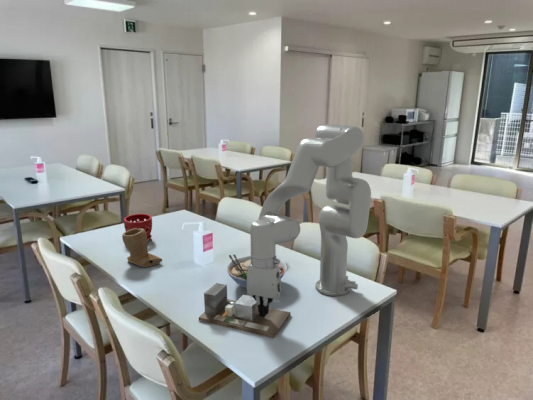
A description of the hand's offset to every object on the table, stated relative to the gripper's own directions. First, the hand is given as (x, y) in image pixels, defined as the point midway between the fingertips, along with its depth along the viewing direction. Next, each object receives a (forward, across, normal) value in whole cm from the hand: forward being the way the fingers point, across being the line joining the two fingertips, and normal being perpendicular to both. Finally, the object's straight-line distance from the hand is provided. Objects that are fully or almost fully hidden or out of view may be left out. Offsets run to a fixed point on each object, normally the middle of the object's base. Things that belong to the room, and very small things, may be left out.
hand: (263, 314), depth 129 cm
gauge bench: (+3, +6, 0) cm, 7 cm away
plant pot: (+3, +86, -44) cm, 97 cm away
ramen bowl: (+3, +13, -23) cm, 26 cm away
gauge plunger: (+1, +8, 0) cm, 8 cm away
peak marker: (+1, +11, +4) cm, 12 cm away
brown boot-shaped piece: (+3, +67, -23) cm, 70 cm away
